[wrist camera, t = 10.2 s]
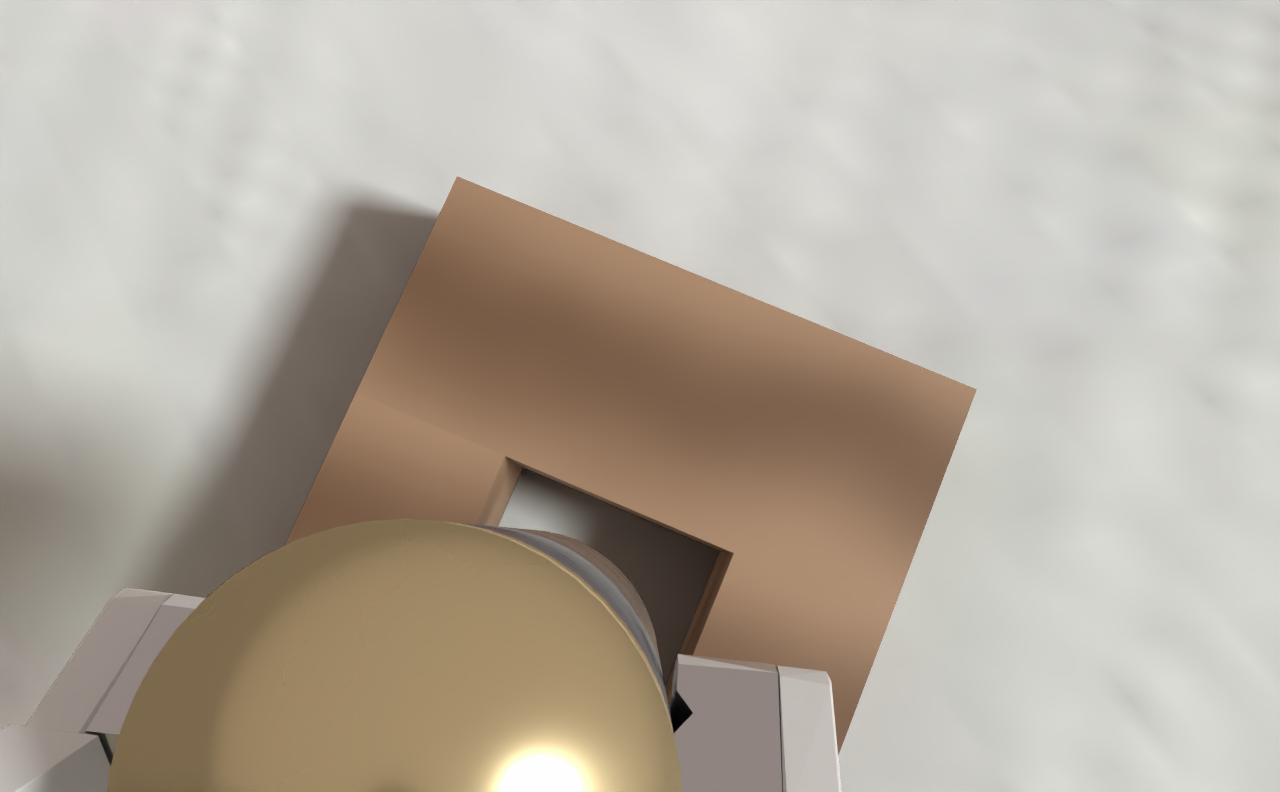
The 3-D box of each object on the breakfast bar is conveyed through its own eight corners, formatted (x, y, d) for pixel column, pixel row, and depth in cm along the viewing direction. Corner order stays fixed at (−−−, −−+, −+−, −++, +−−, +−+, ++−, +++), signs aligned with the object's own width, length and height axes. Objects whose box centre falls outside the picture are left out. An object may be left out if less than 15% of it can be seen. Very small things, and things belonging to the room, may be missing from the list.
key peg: (594, 852, 15) (542, 1230, 7) (343, 741, 15) (0, 974, 7) (700, 593, 15) (770, 652, 7) (456, 488, 15) (261, 431, 7)
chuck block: (688, 1039, 26) (697, 1127, 22) (206, 821, 27) (132, 869, 23) (929, 410, 29) (976, 389, 25) (481, 225, 29) (456, 176, 25)
